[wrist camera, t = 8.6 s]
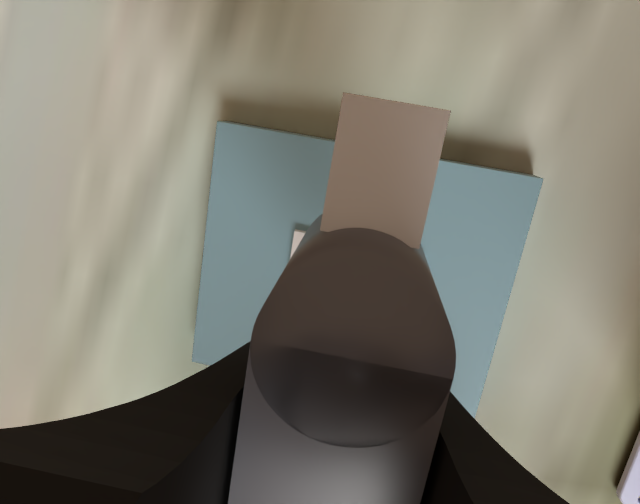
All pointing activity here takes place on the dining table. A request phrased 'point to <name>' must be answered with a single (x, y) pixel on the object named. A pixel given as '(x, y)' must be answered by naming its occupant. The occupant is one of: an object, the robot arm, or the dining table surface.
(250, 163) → the board
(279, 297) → the plug
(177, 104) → the dining table surface
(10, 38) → the dining table surface
